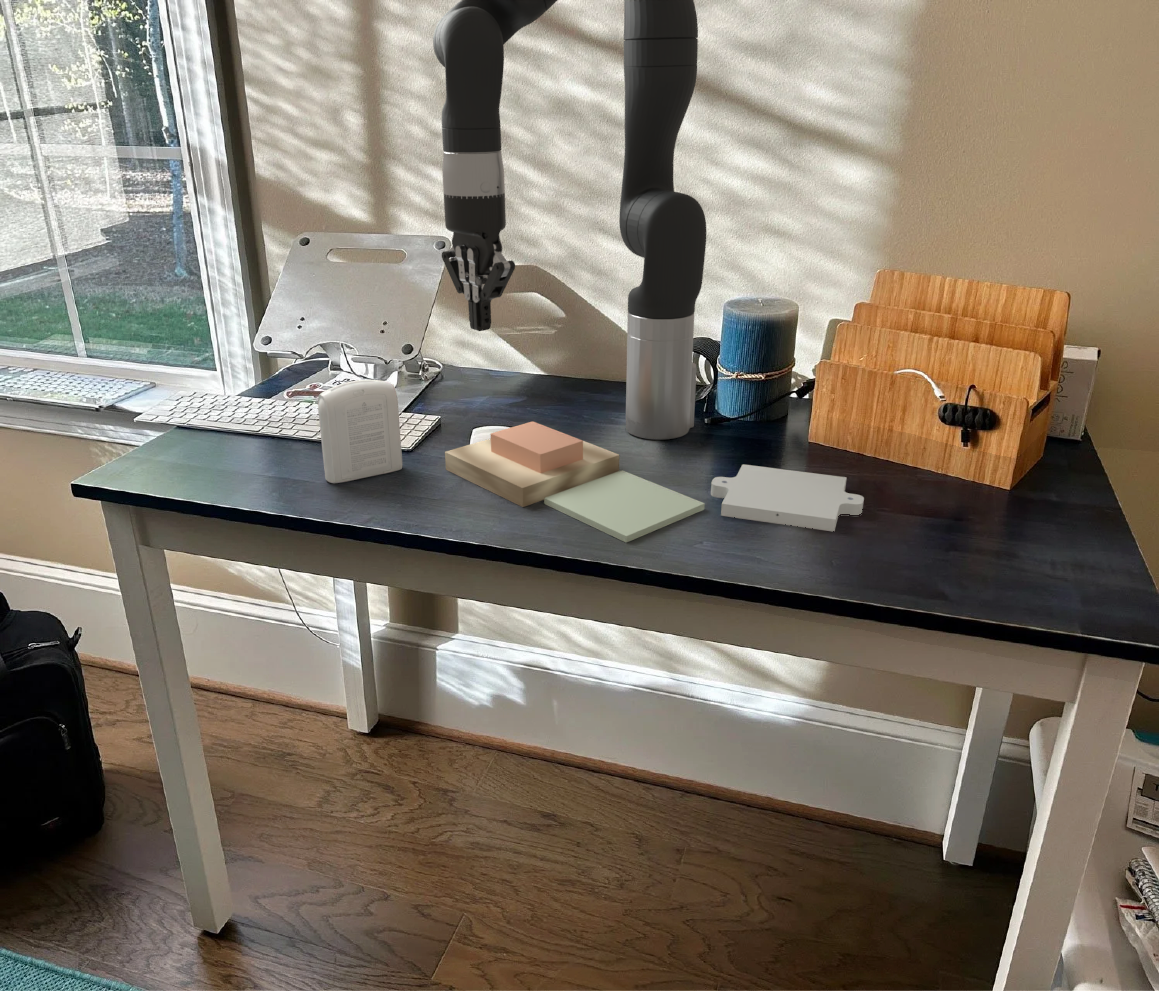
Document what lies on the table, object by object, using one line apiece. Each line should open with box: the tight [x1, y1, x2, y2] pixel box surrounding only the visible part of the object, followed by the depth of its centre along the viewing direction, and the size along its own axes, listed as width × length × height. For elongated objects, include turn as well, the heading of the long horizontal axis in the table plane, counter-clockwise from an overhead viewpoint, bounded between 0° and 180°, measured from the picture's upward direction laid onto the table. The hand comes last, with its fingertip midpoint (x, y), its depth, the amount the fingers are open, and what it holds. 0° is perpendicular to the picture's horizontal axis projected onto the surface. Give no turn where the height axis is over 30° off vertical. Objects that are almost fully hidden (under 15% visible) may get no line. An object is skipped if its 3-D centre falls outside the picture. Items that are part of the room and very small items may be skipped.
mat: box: [543, 469, 706, 543], centre depth 114 cm, size 13×14×1 cm
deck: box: [444, 424, 620, 508], centre depth 124 cm, size 16×16×2 cm
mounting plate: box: [710, 464, 865, 532], centre depth 115 cm, size 18×13×2 cm
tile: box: [490, 421, 584, 473], centre depth 122 cm, size 7×10×2 cm
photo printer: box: [317, 379, 403, 484], centre depth 121 cm, size 10×4×12 cm, turn 123°
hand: (480, 329), depth 124 cm, fingers closed
